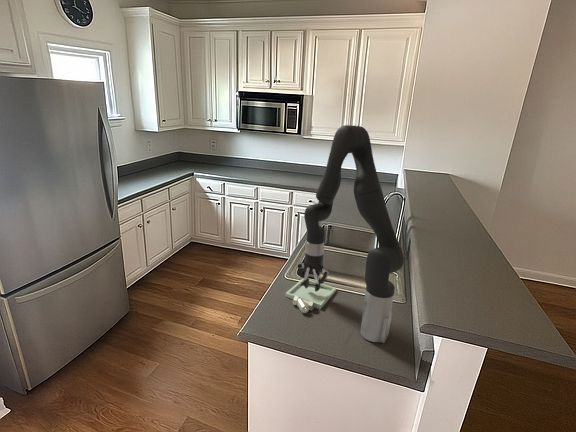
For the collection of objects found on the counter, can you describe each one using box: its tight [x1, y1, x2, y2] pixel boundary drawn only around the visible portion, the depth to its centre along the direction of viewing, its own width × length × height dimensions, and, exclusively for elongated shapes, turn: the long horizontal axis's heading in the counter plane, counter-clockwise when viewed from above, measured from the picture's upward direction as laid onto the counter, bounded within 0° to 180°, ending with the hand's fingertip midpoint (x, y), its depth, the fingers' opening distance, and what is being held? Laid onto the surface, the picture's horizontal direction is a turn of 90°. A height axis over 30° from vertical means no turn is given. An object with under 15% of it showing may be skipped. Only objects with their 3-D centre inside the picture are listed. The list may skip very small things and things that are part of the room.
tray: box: [285, 278, 337, 310], centre depth 142 cm, size 16×16×2 cm
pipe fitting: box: [292, 296, 315, 314], centre depth 131 cm, size 8×4×7 cm
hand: (311, 288), depth 141 cm, fingers open, 4 cm apart
